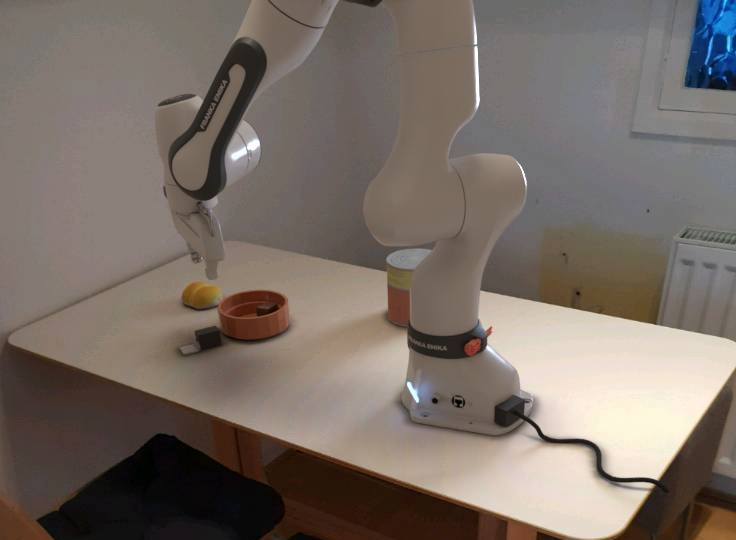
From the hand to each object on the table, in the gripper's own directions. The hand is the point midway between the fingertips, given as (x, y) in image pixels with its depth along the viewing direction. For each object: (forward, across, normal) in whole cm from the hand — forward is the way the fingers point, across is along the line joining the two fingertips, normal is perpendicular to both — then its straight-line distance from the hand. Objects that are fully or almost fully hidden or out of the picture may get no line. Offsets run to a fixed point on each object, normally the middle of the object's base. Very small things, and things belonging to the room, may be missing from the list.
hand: (204, 270), depth 154 cm
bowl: (+15, +2, -9) cm, 18 cm away
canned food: (+15, -11, -40) cm, 44 cm away
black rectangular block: (+15, -1, +3) cm, 15 cm away
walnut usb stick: (+14, 0, -10) cm, 17 cm away
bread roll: (+15, +20, -4) cm, 26 cm away
